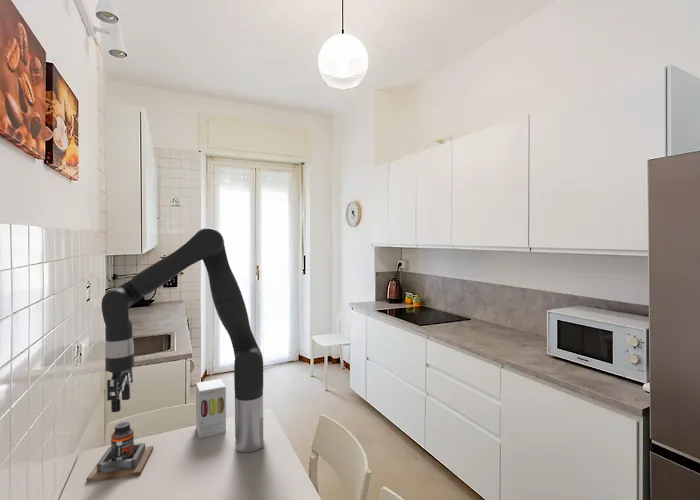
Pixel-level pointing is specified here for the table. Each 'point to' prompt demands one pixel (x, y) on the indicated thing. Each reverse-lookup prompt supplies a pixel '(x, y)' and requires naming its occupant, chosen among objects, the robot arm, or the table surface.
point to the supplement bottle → (122, 442)
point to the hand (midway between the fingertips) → (121, 405)
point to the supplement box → (210, 408)
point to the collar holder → (121, 465)
